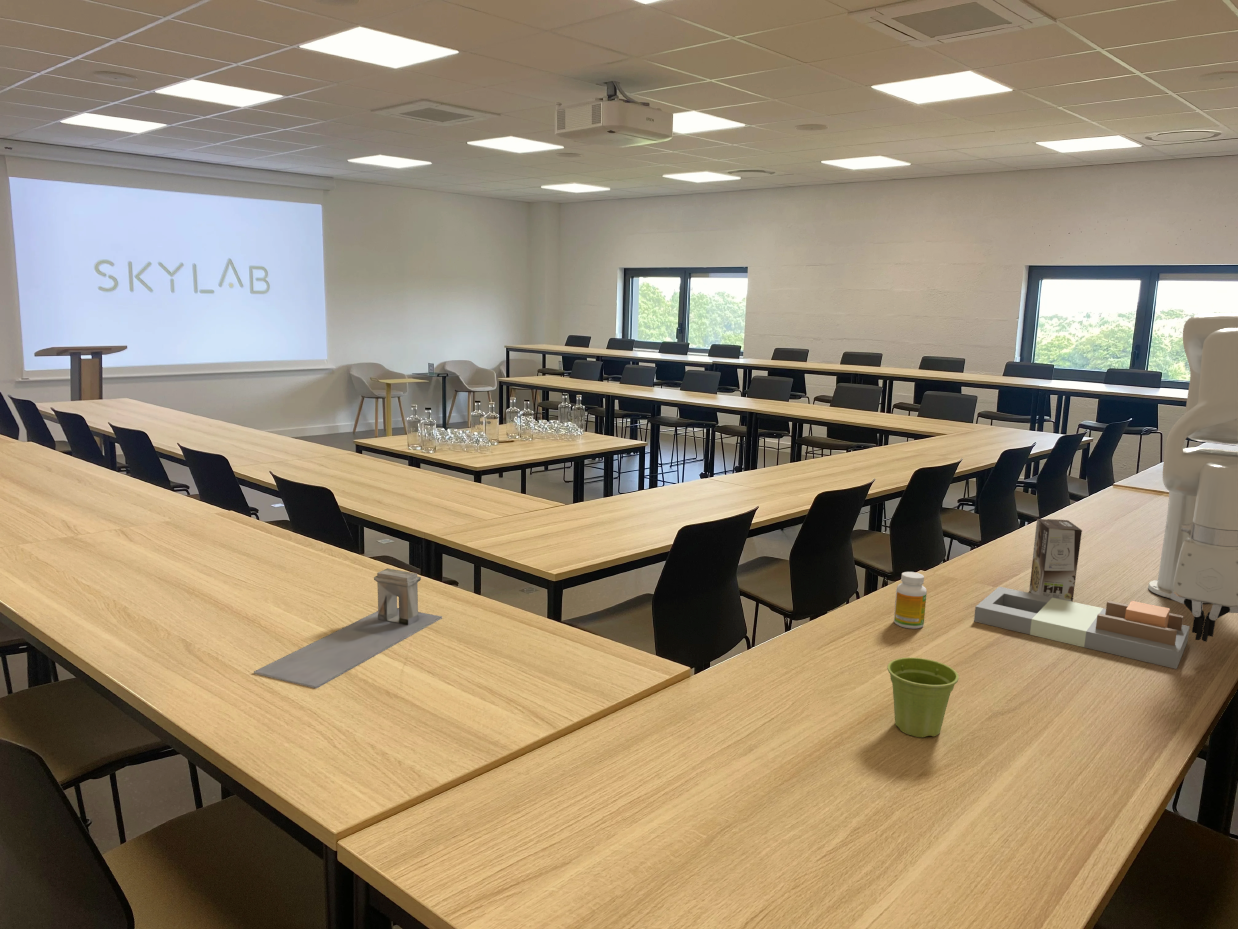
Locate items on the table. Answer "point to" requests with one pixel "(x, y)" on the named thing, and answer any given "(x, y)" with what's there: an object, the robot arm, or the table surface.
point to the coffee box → (1055, 559)
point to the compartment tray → (1085, 625)
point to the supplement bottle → (910, 601)
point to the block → (1147, 614)
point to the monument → (357, 635)
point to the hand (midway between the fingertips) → (1201, 638)
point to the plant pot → (920, 694)
